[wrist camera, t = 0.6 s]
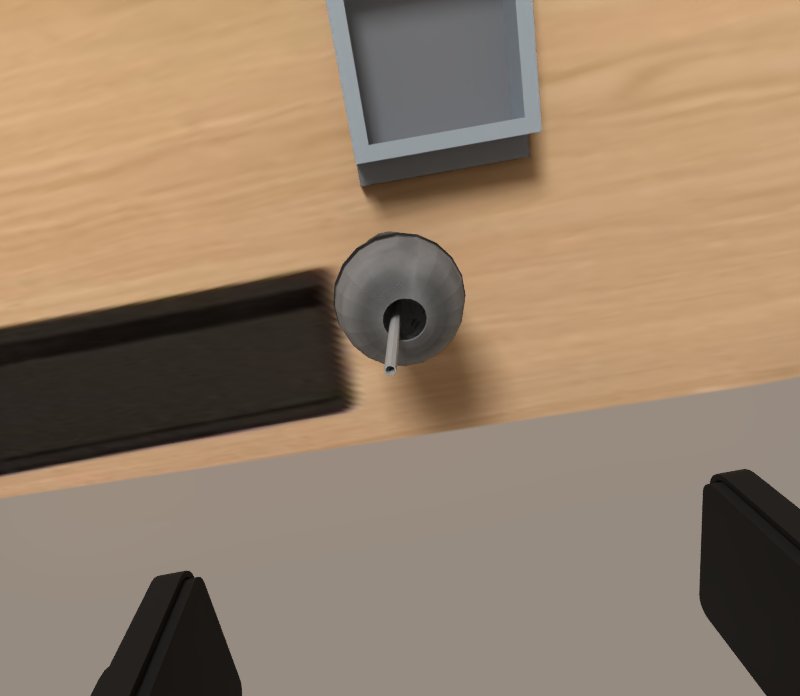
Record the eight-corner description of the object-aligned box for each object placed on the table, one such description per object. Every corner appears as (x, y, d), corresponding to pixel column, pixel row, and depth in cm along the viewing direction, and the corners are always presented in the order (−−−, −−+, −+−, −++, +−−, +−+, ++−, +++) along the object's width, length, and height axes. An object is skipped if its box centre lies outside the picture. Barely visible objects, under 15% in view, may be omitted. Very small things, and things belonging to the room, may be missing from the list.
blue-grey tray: (505, -97, 33) (523, -130, 29) (525, 156, 38) (543, 156, 34) (315, -63, 33) (308, -92, 29) (360, 185, 38) (360, 188, 34)
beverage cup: (457, 268, 41) (538, 361, 22) (383, 327, 42) (400, 464, 23) (396, 191, 38) (428, 221, 20) (321, 256, 40) (282, 342, 21)
